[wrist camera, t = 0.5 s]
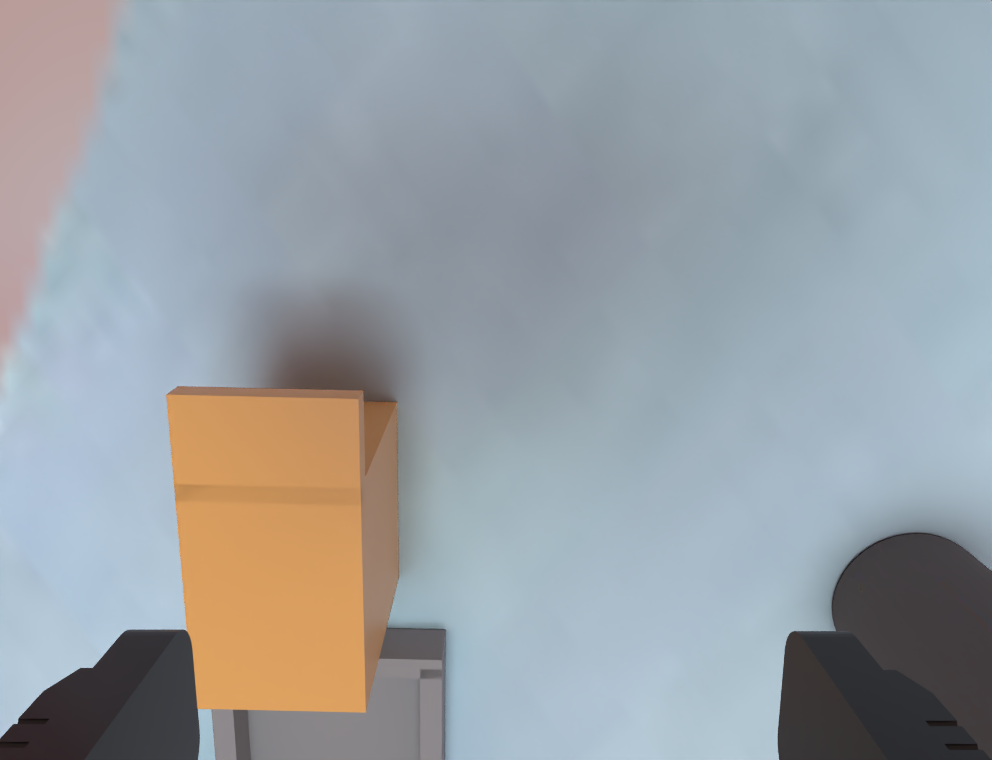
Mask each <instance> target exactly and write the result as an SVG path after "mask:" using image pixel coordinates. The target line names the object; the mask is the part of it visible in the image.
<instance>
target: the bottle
mask: <svg viewBox="0 0 992 760" xmlns="http://www.w3.org/2000/svg"><path fill="white" fill-rule="evenodd" d="M832 611H833V620H834V624H835V628H836V630H837V631H848V632H851V633H853V634H854V635H855V636H856V638H857V639H858V640H859V641H860V642H861V644H862V645H863V646H864V647H865V648H866V650H867V651H868V652H869V653H870V655H871V656H872V657H873V658H874V659H875V661H876V662H877V663H878V664H879V665H880V667H881V668H882V669H883V670H897V671H899V672H900V673H902V674H903V675H905V676H906V677H908V678H910V679H911V680H913V681H914V682H916V683H917V684H919V685H921V686H922V687H924V688H925V689H927V690H928V691H930V692H932V693H933V694H934V695H935V696H936V698H937V699H938V700H939V701H940V702H941V703H942V704H943V705H944V707H945V708H946V709H947V710H948V711H949V712H950V713H951V714H952V716H953V717H954V718H955V719H956V720H957V725H958V726H962V727H963V728H964V729H965V730H966V731H967V733H968V734H969V735H970V736H971V737H972V738H973V739H974V740H975V742H976V743H977V746H978V749H979V750H983V751H984V752H985V753H986V754H987V755H988V756H989V757H990V759H991V760H992V571H991V570H989V569H988V568H987V567H986V566H985V565H983V564H982V563H981V562H980V561H978V560H977V559H976V558H975V557H974V556H972V555H971V554H970V553H969V552H967V551H966V550H965V549H963V548H962V547H961V546H959V545H957V544H955V543H953V542H951V541H950V540H947V539H945V538H942V537H939V536H934V535H929V534H907V535H900V536H895V537H892V538H889V539H886V540H884V541H882V542H879V543H877V544H875V545H873V546H871V547H870V548H868V549H867V550H865V551H864V552H863V553H862V554H860V555H859V556H858V557H857V558H856V559H855V560H854V561H853V562H852V563H851V564H850V565H849V566H848V568H847V569H846V570H845V571H844V573H843V575H842V577H841V579H840V580H839V582H838V584H837V587H836V590H835V594H834V599H833V610H832Z"/></svg>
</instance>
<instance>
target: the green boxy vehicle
mask: <svg viewBox="0 0 992 760" xmlns="http://www.w3.org/2000/svg"><path fill="white" fill-rule="evenodd" d="M445 632H446V630H429V629H386V632H385V636H384V640H383V644H382V648H381V653H380V657H379V661H378V665H377V669H376V673H375V677H374V681H373V685H372V689H371V694H370V698H369V702H368V706H367V710H366V713H359V712H316V711H273V710H229V709H212V721H213V733H214V746H215V758H216V760H445Z"/></svg>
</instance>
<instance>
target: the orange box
mask: <svg viewBox="0 0 992 760" xmlns="http://www.w3.org/2000/svg"><path fill="white" fill-rule="evenodd" d="M166 397H167V408H168V420H169V431H170V443H171V454H172V466H173V477H174V488H175V500H176V511H177V523H178V534H179V546H180V557H181V569H182V580H183V592H184V603H185V615H186V626H187V632H188V634H189V636H190V639H191V643H192V649H193V661H194V673H195V684H196V696H197V708H198V709H229V710H273V711H316V712H359V713H366V710H367V706H368V702H369V698H370V694H371V689H372V685H373V681H374V677H375V673H376V669H377V665H378V661H379V657H380V653H381V648H382V644H383V640H384V636H385V632H386V628H387V624H388V620H389V616H390V612H391V608H392V603H393V599H394V595H395V591H396V587H397V583H398V579H399V538H398V445H397V402H364V395H363V390H320V389H275V388H231V387H186V386H178V387H176V388H175V389H173V390H172V391H171V392H169V393H168V394H167V395H166Z"/></svg>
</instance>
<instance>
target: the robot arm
mask: <svg viewBox="0 0 992 760" xmlns="http://www.w3.org/2000/svg"><path fill="white" fill-rule="evenodd" d="M199 743H200V733H199V720H198V708H197V696H196V684H195V673H194V661H193V649H192V643H191V639H190V636H189V634H188V632H187V631H186V630H127V631H125V632H124V633H123V634H122V635H121V636H120V637H119V638H118V639H117V640H116V641H115V643H114V644H113V645H112V646H111V647H110V648H109V650H108V651H107V652H106V653H105V654H104V656H103V657H102V658H101V659H100V660H99V661H98V663H97V664H96V665H95V666H94V667H93V668H80V669H78V670H77V671H75V672H74V673H72V674H70V675H69V676H67V677H66V678H64V679H62V680H61V681H59V682H58V683H56V684H54V685H53V686H51V687H50V688H48V689H46V690H45V691H43V692H42V693H41V695H40V696H39V697H38V698H37V699H36V700H35V701H34V702H33V703H32V704H31V705H30V707H29V708H28V709H27V710H26V711H25V712H24V713H23V714H22V715H21V716H20V718H19V719H18V724H13V725H12V726H11V727H10V728H9V730H8V731H7V732H6V733H5V734H4V735H3V736H2V737H1V738H0V760H198V754H199ZM778 753H779V760H991V759H990V757H989V756H988V755H987V754H986V753H985V752H984V751H983V750H979V749H978V746H977V743H976V742H975V740H974V739H973V738H972V737H971V736H970V735H969V734H968V733H967V731H966V730H965V729H964V728H963V727H962V726H958V725H957V720H956V719H955V718H954V717H953V716H952V714H951V713H950V712H949V711H948V710H947V709H946V708H945V707H944V705H943V704H942V703H941V702H940V701H939V700H938V699H937V698H936V696H935V695H934V694H933V693H932V692H930V691H928V690H927V689H925V688H924V687H922V686H921V685H919V684H917V683H916V682H914V681H913V680H911V679H910V678H908V677H906V676H905V675H903V674H902V673H900V672H899V671H897V670H883V669H882V668H881V667H880V665H879V664H878V663H877V662H876V661H875V659H874V658H873V657H872V656H871V655H870V653H869V652H868V651H867V650H866V648H865V647H864V646H863V645H862V644H861V642H860V641H859V640H858V639H857V638H856V636H855V635H854V634H853V633H851V632H848V631H794V632H791V633H790V634H789V636H788V638H787V641H786V646H785V655H784V667H783V679H782V691H781V703H780V714H779V726H778Z"/></svg>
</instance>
